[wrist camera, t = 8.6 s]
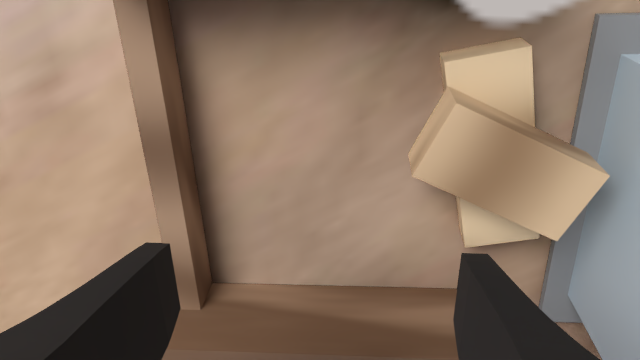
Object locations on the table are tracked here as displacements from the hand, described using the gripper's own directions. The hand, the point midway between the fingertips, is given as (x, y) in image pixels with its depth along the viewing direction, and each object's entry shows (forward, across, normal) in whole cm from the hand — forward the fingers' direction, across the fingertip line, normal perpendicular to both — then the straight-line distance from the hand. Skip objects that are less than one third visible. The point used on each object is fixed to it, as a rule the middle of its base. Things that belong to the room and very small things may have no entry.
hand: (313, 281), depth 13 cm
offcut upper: (+8, -6, 0) cm, 10 cm away
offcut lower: (+10, -6, 0) cm, 12 cm away
